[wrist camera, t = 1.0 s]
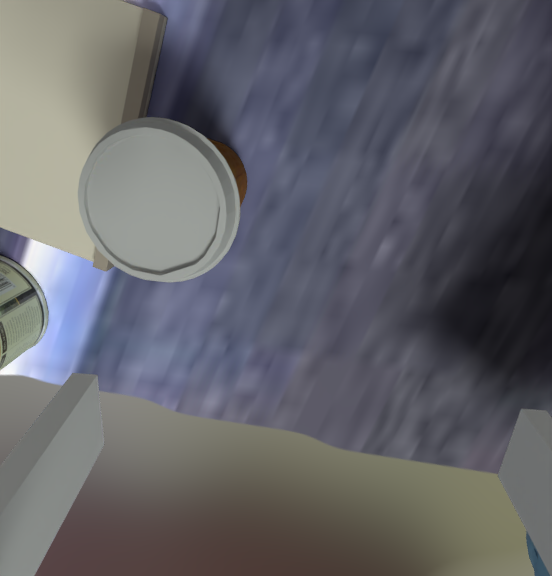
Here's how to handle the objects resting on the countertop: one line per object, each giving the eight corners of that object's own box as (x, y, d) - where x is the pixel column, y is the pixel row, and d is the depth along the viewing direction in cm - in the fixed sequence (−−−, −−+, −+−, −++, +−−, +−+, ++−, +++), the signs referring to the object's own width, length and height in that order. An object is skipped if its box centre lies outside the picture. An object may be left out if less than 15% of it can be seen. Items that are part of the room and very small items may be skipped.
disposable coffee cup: (147, 226, 38) (69, 270, 27) (156, 106, 35) (70, 101, 24) (257, 249, 38) (223, 304, 27) (277, 130, 34) (247, 136, 23)
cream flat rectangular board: (167, 18, 33) (159, 13, 31) (114, 266, 40) (106, 271, 39) (-42, -60, 33) (-59, -68, 31) (-57, 202, 40) (-71, 205, 39)
